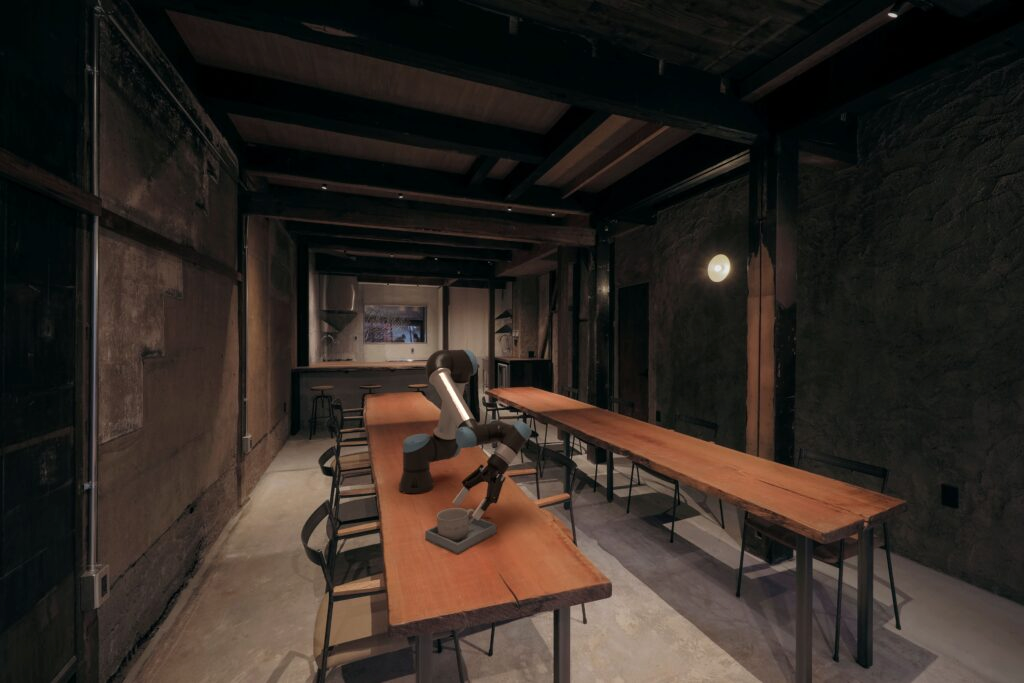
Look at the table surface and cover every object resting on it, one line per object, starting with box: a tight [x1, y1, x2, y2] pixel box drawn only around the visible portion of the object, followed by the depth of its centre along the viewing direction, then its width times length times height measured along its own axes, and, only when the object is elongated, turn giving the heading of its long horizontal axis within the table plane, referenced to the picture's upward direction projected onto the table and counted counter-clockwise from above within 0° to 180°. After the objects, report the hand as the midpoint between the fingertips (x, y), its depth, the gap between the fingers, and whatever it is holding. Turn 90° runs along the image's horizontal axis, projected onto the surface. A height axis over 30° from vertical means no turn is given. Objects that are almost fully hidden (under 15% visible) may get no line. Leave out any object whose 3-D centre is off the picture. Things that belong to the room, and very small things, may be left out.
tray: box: [424, 514, 497, 555], centre depth 142 cm, size 15×18×3 cm
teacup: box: [436, 507, 475, 541], centre depth 141 cm, size 14×11×8 cm
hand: (464, 511), depth 142 cm, fingers open, 13 cm apart
